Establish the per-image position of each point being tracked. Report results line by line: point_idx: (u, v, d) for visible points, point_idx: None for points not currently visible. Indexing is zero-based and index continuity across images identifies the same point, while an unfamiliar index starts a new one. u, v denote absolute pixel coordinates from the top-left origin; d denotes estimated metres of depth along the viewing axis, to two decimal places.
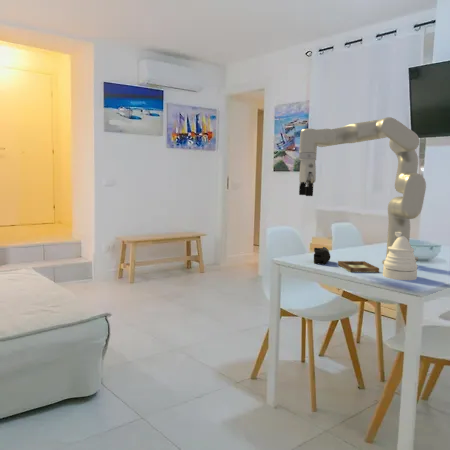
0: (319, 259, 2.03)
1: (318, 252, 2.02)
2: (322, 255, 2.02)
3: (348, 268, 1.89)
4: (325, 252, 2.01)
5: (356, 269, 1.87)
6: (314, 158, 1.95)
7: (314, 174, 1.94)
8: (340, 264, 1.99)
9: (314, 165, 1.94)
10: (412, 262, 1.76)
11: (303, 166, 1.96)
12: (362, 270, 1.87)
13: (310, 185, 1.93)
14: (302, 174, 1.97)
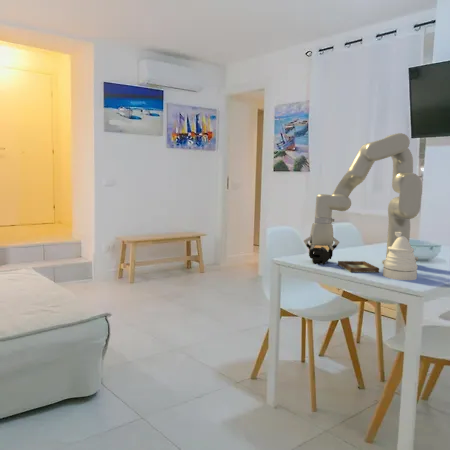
0: (318, 259, 2.02)
1: (317, 252, 2.02)
2: (321, 255, 2.02)
3: (348, 268, 1.89)
4: (324, 252, 2.01)
5: (356, 269, 1.87)
6: None
7: None
8: (340, 264, 1.99)
9: None
10: (412, 262, 1.76)
11: (328, 231, 2.03)
12: (362, 270, 1.87)
13: None
14: (325, 238, 2.04)
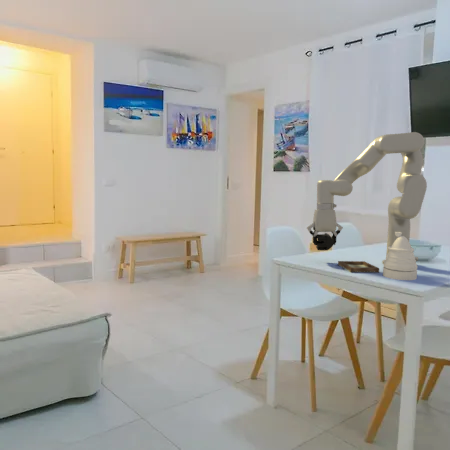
0: (322, 245, 2.02)
1: (321, 238, 2.02)
2: (325, 241, 2.01)
3: (348, 268, 1.89)
4: (328, 238, 2.01)
5: (356, 269, 1.87)
6: None
7: None
8: (340, 264, 1.99)
9: None
10: (412, 262, 1.76)
11: (331, 216, 2.03)
12: (362, 270, 1.87)
13: None
14: (329, 224, 2.03)
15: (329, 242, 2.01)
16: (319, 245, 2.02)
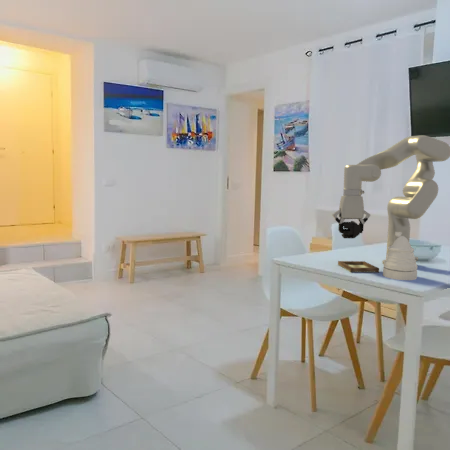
0: (349, 233, 1.92)
1: (347, 225, 1.92)
2: (352, 228, 1.92)
3: (348, 268, 1.89)
4: (355, 225, 1.91)
5: (356, 269, 1.87)
6: None
7: None
8: (340, 264, 1.99)
9: None
10: (412, 262, 1.76)
11: (358, 203, 1.93)
12: (362, 270, 1.87)
13: None
14: (356, 211, 1.93)
15: (356, 230, 1.91)
16: (345, 233, 1.93)
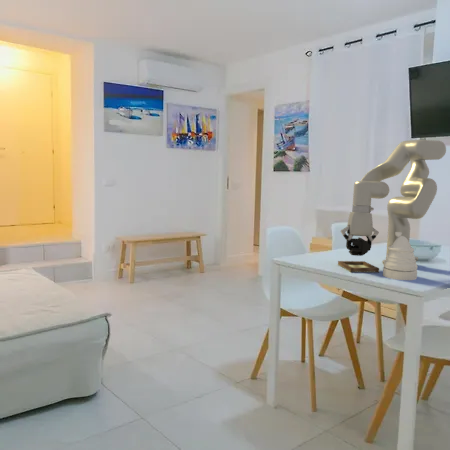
0: (357, 250, 1.89)
1: (356, 242, 1.89)
2: (360, 246, 1.89)
3: (348, 268, 1.89)
4: (364, 242, 1.88)
5: (356, 269, 1.87)
6: None
7: None
8: (340, 264, 1.99)
9: None
10: (412, 262, 1.76)
11: (367, 220, 1.90)
12: (362, 270, 1.87)
13: None
14: (364, 228, 1.91)
15: (365, 247, 1.88)
16: (354, 250, 1.90)
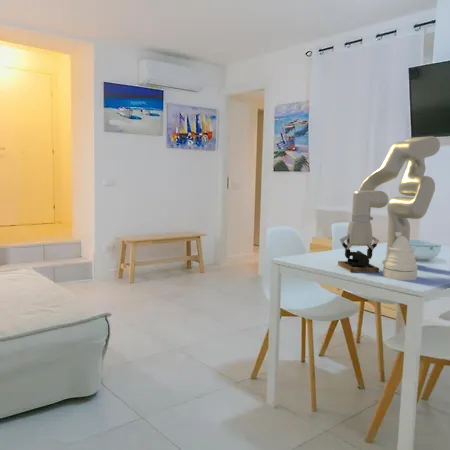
0: (357, 264, 1.90)
1: (356, 256, 1.90)
2: (360, 260, 1.90)
3: (348, 268, 1.89)
4: (364, 256, 1.89)
5: (356, 269, 1.87)
6: None
7: None
8: (340, 264, 1.99)
9: None
10: (412, 262, 1.76)
11: (367, 229, 1.91)
12: (362, 270, 1.87)
13: None
14: (364, 238, 1.91)
15: (364, 261, 1.89)
16: (354, 264, 1.90)
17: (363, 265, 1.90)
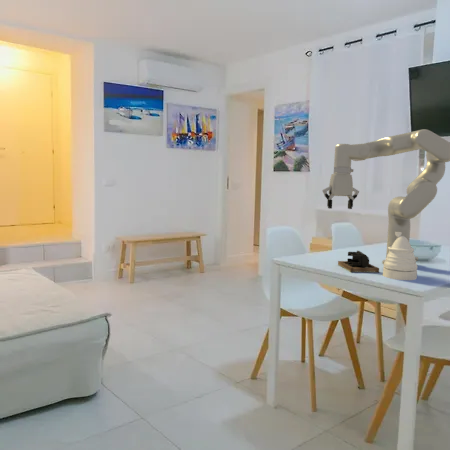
0: (357, 264, 1.90)
1: (356, 256, 1.90)
2: (360, 260, 1.90)
3: (348, 268, 1.89)
4: (364, 256, 1.89)
5: (356, 269, 1.87)
6: None
7: None
8: (340, 264, 1.99)
9: None
10: (412, 262, 1.76)
11: (348, 180, 2.02)
12: (362, 270, 1.87)
13: None
14: (345, 188, 2.02)
15: (364, 261, 1.89)
16: (354, 264, 1.90)
17: (363, 265, 1.90)
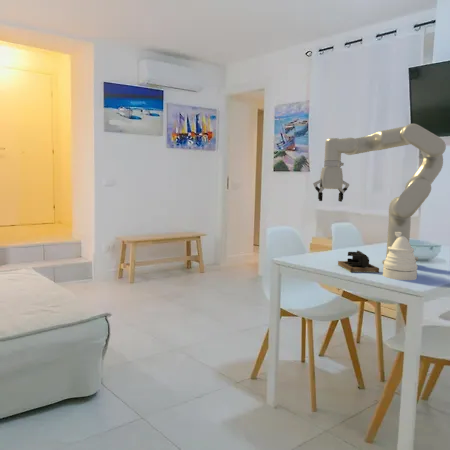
0: (357, 264, 1.90)
1: (356, 256, 1.90)
2: (360, 260, 1.90)
3: (348, 268, 1.89)
4: (364, 256, 1.89)
5: (356, 269, 1.87)
6: None
7: None
8: (340, 264, 1.99)
9: None
10: (412, 262, 1.76)
11: (338, 174, 2.08)
12: (362, 270, 1.87)
13: None
14: (335, 181, 2.08)
15: (364, 261, 1.89)
16: (354, 264, 1.90)
17: (363, 265, 1.90)
